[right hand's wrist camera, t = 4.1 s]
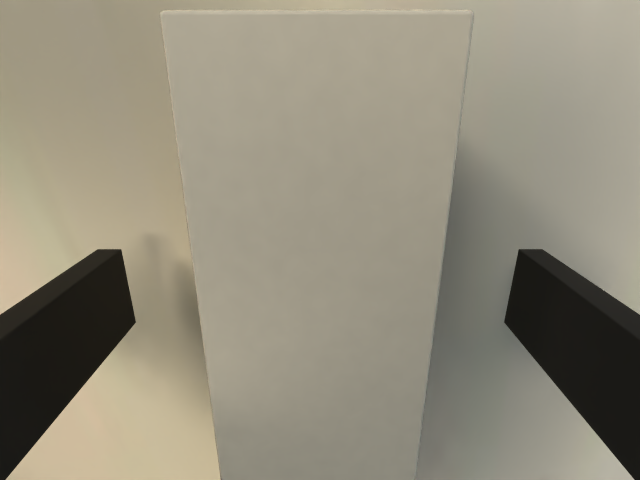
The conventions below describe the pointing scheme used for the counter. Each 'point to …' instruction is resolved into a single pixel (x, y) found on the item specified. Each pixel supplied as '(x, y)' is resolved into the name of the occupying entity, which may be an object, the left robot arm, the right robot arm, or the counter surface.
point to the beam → (317, 226)
